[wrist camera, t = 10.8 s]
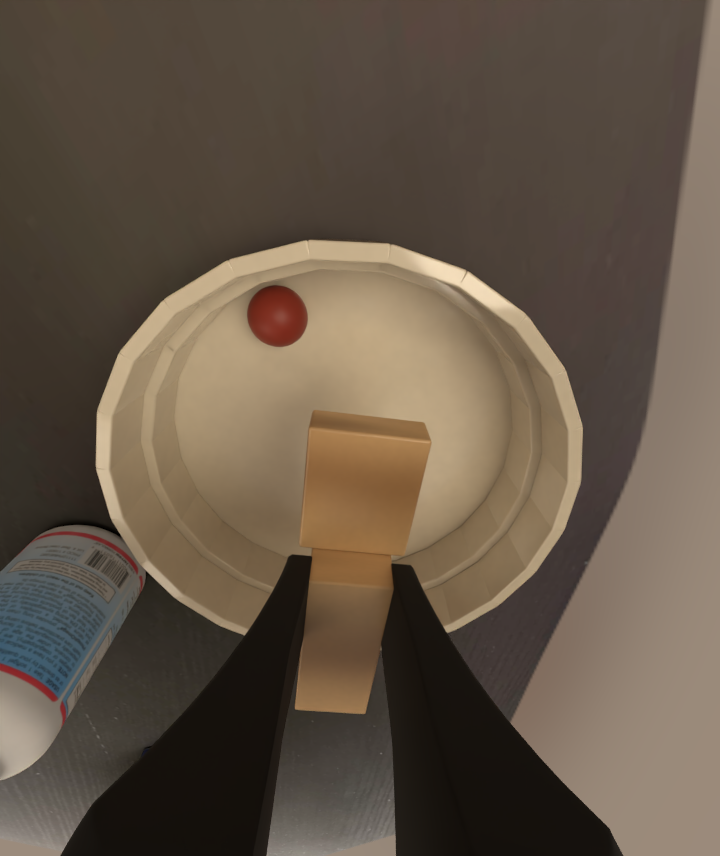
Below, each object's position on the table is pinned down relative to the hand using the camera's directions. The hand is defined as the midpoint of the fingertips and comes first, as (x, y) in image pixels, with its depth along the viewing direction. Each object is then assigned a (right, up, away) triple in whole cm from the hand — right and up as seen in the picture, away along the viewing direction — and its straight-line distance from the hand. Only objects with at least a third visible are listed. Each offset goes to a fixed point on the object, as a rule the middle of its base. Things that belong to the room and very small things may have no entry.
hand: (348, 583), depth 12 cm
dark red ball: (-3, +9, +3) cm, 10 cm away
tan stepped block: (0, +1, +1) cm, 1 cm away
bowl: (0, +4, +7) cm, 8 cm away
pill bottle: (-14, -3, +10) cm, 18 cm away
